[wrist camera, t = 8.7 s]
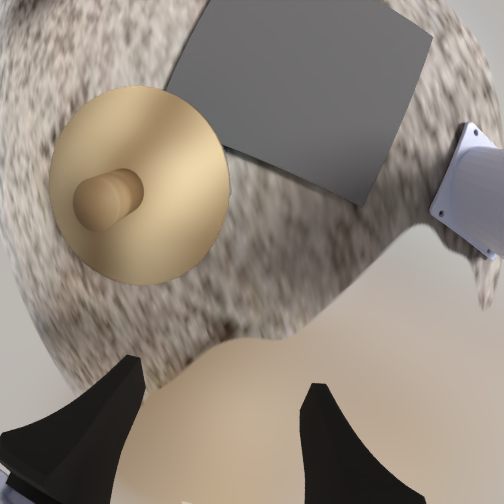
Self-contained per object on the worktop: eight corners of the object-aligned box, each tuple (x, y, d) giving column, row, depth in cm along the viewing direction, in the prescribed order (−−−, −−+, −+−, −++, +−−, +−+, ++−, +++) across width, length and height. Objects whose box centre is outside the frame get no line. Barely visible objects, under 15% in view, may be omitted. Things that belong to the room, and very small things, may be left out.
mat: (429, 38, 12) (433, 37, 12) (358, 205, 18) (361, 207, 17) (243, -45, 11) (243, -49, 10) (157, 121, 16) (153, 120, 15)
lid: (266, 131, 13) (267, 128, 9) (187, 306, 17) (170, 347, 13) (87, 70, 11) (46, 61, 8) (46, 235, 16) (11, 258, 12)
